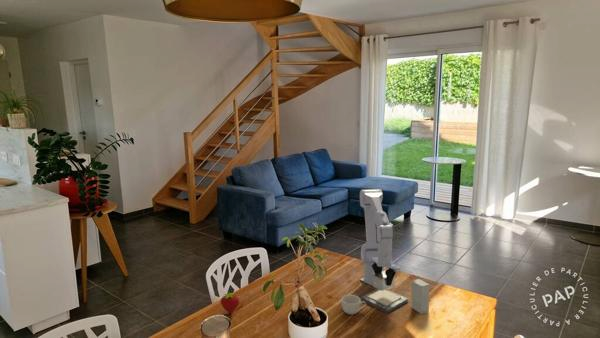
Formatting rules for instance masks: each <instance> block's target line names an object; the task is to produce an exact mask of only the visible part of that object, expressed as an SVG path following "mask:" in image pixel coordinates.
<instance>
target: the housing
mask: <svg viewBox="0 0 600 338" xmlns="http://www.w3.org/2000/svg"><path fill="white" fill-rule="evenodd" d="M385 271H386V270H385V269H384V271H383V272H380V273H378V274H376V275H373V286H372V287H374V288H375V289H379V290H381V291H383V290H385V289H387V290H388V289H389V288H391V287H394V286H395V277H396V275H395V276H394V278H393V280H392V284H391V285H389V286H387V277H386V273H385Z"/></svg>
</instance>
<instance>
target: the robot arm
mask: <svg viewBox="0 0 600 338" xmlns="http://www.w3.org/2000/svg"><path fill="white" fill-rule="evenodd" d="M383 195H384V194H383V191H382V189H381V188H378V189H377V188H376V189H375V188H374V189H361V190H360V191H359V204H360V207H361V208H363V211H364V222H365V239H366V242H365V243H364V244H363V245H362V246H361V248H360V259H361V260H360V261H361V262H362V263H363V265H364V266H363V277H362V278H360V279H359V280H360V281H361V282H364V283H366V284H368V285H370V286H372V287H373V275H376V274H378V273H380V272H383V271H385V268H387V270H386V271H385V273H386V277H387V286H389V285H391V284H392V280H393V278H394V276H395V277H396V274H397V273H399V272H401V267H400V266H399V265H397V264H395V263H394V262H393V261H392V257H393V255H392V254H393V253H392V252H393V239H394V238H395V235H396V232H395V230H396V229H395V226H394V224H393V223H392V222H390V220H389V218H388V215H387V213H386V212H385V211H384V210H383V207H382V202H383V198H384V196H383Z"/></svg>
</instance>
